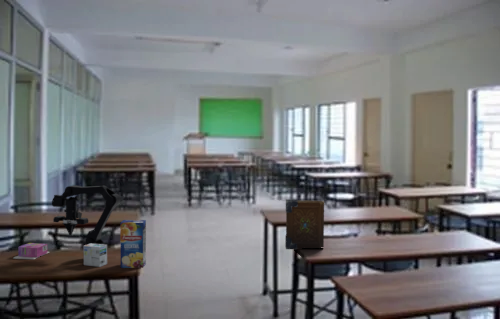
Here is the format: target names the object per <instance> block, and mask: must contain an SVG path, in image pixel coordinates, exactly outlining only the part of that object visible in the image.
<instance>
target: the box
mask: <svg viewBox="0 0 500 319" xmlns="http://www.w3.org/2000/svg"><path fill="white" fill-rule="evenodd" d="M17 249H18V250H17V251H18V252H17V253H18V255H17V256H21V257H36V259H38V258H40V257H39V256H41V257H42V255H43V256H45V255H47V254H48V253H47V252H48V243H35V242H28V243H26V244H22V245H20V246H18V248H17ZM44 254H45V255H44ZM37 257H38V258H37Z"/></svg>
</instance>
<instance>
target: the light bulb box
mask: <svg viewBox="0 0 500 319" xmlns="http://www.w3.org/2000/svg"><path fill="white" fill-rule="evenodd" d="M82 247H83V265H84V266H88V267H89V266H90V267H99V268H101V267H103V266H105V265H108V244H104V245H103V244H92V243H90V244H85V245H83V246H82Z"/></svg>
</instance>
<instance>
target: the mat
mask: <svg viewBox="0 0 500 319" xmlns="http://www.w3.org/2000/svg"><path fill="white" fill-rule="evenodd" d="M49 253H50V251H47V254H49ZM45 255H46V254H44V255H42V256H45ZM42 256H41V257H42ZM39 258H40V256H39V257H37V258H36V257H21V256H18V255H16V256H14V257H13V258H12V259H17V260H36V259H39Z"/></svg>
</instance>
